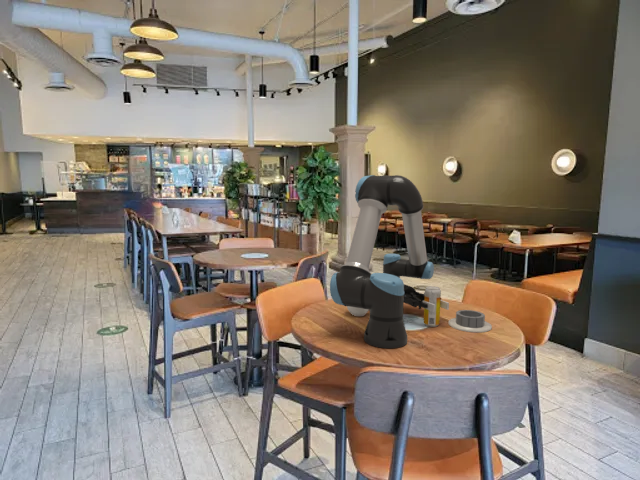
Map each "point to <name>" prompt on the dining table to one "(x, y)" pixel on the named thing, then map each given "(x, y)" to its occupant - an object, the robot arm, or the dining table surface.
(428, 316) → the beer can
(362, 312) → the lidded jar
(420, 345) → the dining table surface
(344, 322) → the dining table surface
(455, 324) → the collar stand
